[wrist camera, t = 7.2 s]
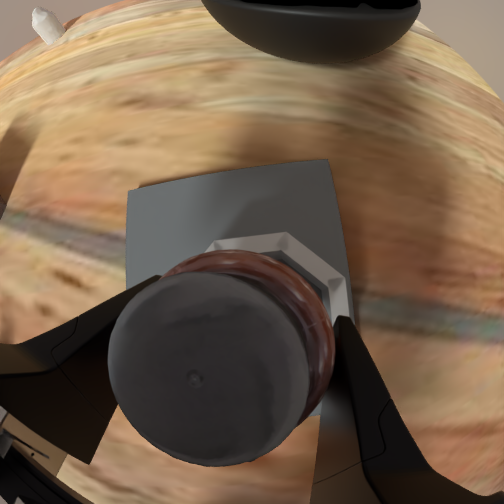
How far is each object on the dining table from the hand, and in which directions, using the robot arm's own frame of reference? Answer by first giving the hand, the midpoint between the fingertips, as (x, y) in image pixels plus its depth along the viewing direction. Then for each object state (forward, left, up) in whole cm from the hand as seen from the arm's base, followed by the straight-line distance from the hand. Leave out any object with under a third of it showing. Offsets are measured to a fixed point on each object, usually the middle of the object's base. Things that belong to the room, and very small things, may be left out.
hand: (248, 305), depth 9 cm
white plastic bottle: (+60, +41, -10) cm, 74 cm away
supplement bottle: (-1, +1, -7) cm, 7 cm away
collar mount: (+1, +2, -10) cm, 10 cm away
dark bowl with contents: (+26, -8, -10) cm, 29 cm away
